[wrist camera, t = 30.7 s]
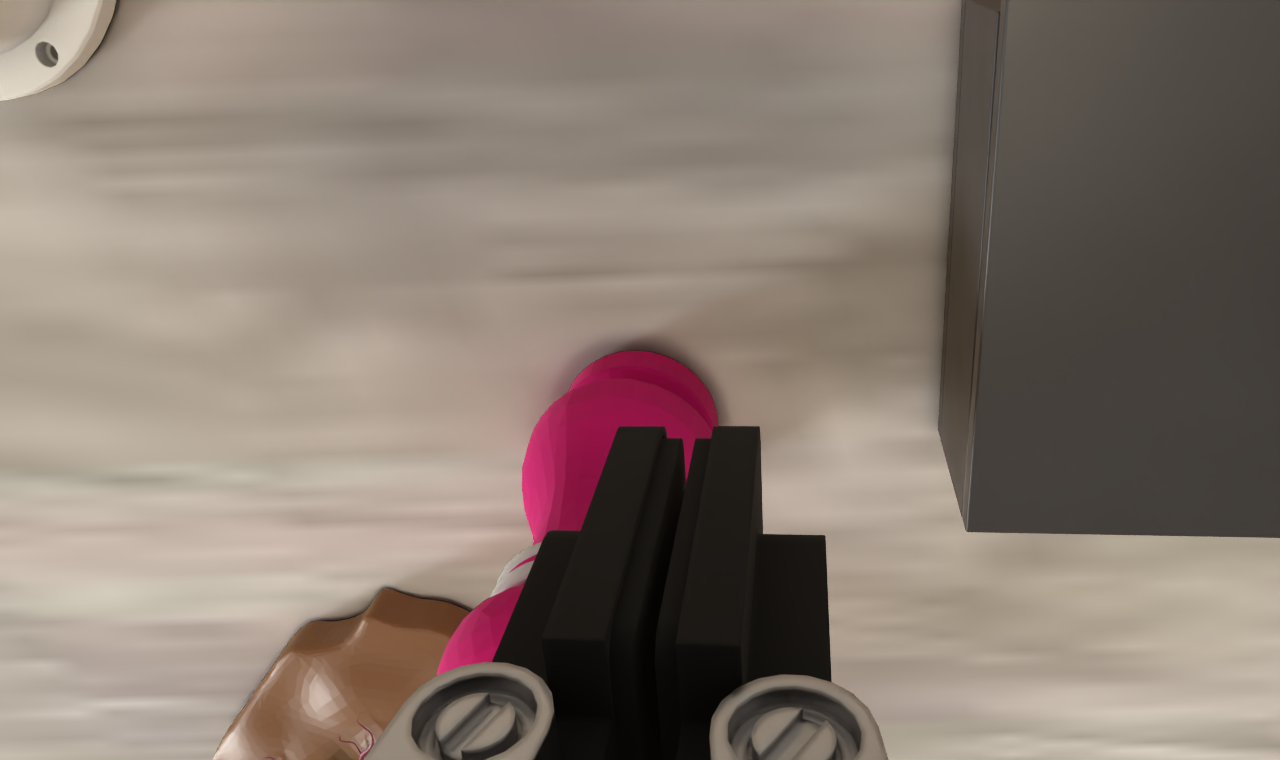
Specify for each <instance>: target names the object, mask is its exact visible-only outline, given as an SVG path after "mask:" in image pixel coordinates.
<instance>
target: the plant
mask: <svg viewBox="0 0 1280 760" xmlns="http://www.w3.org/2000/svg"><path fill="white" fill-rule="evenodd" d="M469 613H470V612H469V611H467V610H465V609H462V608H460V607H458V606H455V605H453V604H450V603H447V602H443V601H436V600H427V599H420V598H415V597H412V596H409V595H405V594H401V593H399V592H396V591H394V590H391V589H382V590H381V591H380V592H379V593H378V594H377V595H376V597H375V598H374V600H373V601H372V603H371V605H370V606H369V608H368V609H367V610H366V611H365V612H363V613H362V614H360V615H359V616H356V617H353V618H350V619H346V620H341V621H333V622H329V621H313V622H310V623H308V624H307V625H305V626H304V627H303V628H302V629H300V630H299V631H298V632H297V633H296V634H295V635H294V637H293V638H292V639H291V640H290V642H289V643H288V645H287V646H286V647H285V649H284V650H283V652H282V653H281V655H280V656H279V658H278V659H277V661H276V662H275V664H274V665H273V666H272V667H271V669H270V670H269V672H268V673H267V674H266V676H265V677H264V679H263V680H262V682H261V683H260V684H259V686H258V687H257V689H256V690H255V692H254V693H253V695H252V696H251V698H250V700H249V701H248V703H247V704H246V705H245V707H244V708H243V709H242V711H241V712H240V713H239V715H238V716H237V718H236V719H235V720H234V722H233V723H232V725H231V726H230V727H229V729H228V730H227V732H226V734H225V736H224V737H223V739H222V741H221V743H220V745H219V747H218V748H217V751H216V753H215V755H214V760H363V759H364V758H365V756H366V755H367V754H368V752H369V751H370V749H371V748H372V747H373V745H374V744H375V742H376V741H377V740H378V738H379V737H380V735H381V734H382V733H383V731H384V730H385V729H386V727H387V726H388V724H389V723H390V722H391V720H392V719H393V717H394V716H395V715H396V713H397V712H398V710H399V709H400V708H401V706H402V705H403V703H404V702H405V701H406V700H407V699H408V698H409V697H410V696H411V695H412V694H413V693H414V692H415V691H416V690H417V689H418V688H419V687H420V686H422V685H423V684H425V683H426V682H428V681H430V680H431V679H433V678H434V677H436V675H437V671H438V667H439V664H440V661H441V658H442V656H443V653H444V651H445V648H446V646H447V643H448V642H449V640H450V639H451V637H452V636H453V634H454V632H455V631H456V629H457V628H458V626H459V625H460V623H461V622H462V620H463V619H464V618H465V617H466V616H467V615H468V614H469Z"/></svg>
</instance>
